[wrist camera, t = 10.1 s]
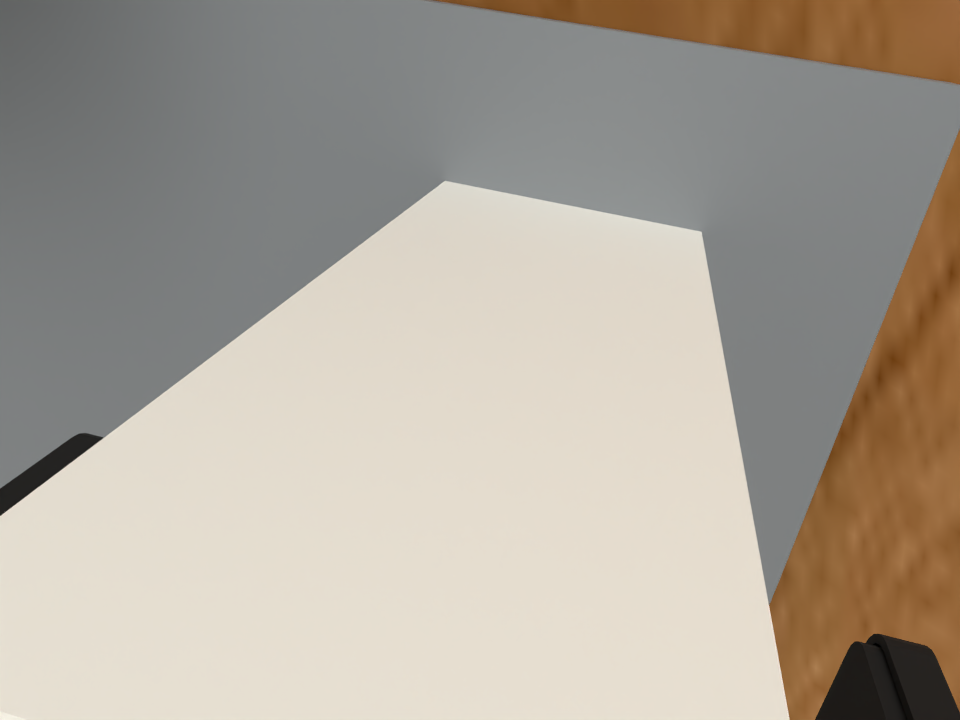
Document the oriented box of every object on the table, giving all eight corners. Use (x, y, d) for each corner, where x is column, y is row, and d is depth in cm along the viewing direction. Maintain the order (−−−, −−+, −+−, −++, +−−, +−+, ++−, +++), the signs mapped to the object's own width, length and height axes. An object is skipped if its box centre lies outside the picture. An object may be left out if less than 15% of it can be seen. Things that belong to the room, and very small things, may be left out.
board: (950, 82, 11) (975, 88, 10) (695, 746, 17) (696, 787, 16) (-139, -91, 13) (-196, -99, 12) (-22, 544, 19) (-55, 570, 18)
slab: (701, 231, 11) (835, 977, 3) (580, 663, 15) (465, 1554, 6) (444, 180, 12) (-181, 652, 3) (390, 610, 16) (43, 1368, 7)
